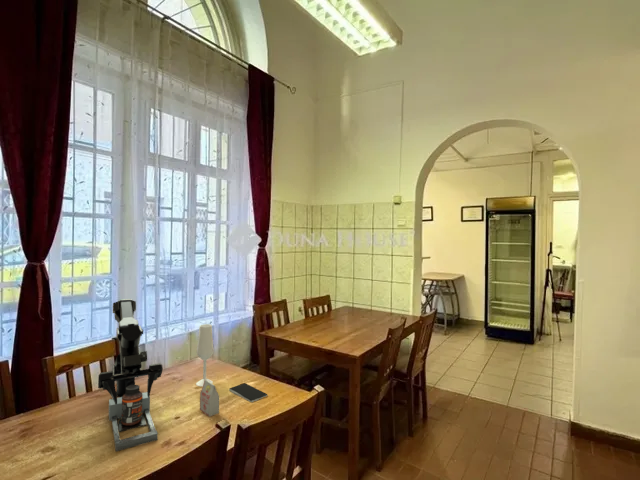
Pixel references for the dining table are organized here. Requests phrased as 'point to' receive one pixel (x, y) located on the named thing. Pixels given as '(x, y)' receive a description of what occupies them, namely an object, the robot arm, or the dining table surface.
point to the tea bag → (209, 399)
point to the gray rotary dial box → (117, 408)
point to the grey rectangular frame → (138, 438)
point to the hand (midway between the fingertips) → (132, 400)
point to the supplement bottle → (131, 406)
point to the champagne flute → (205, 348)
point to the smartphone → (248, 392)
